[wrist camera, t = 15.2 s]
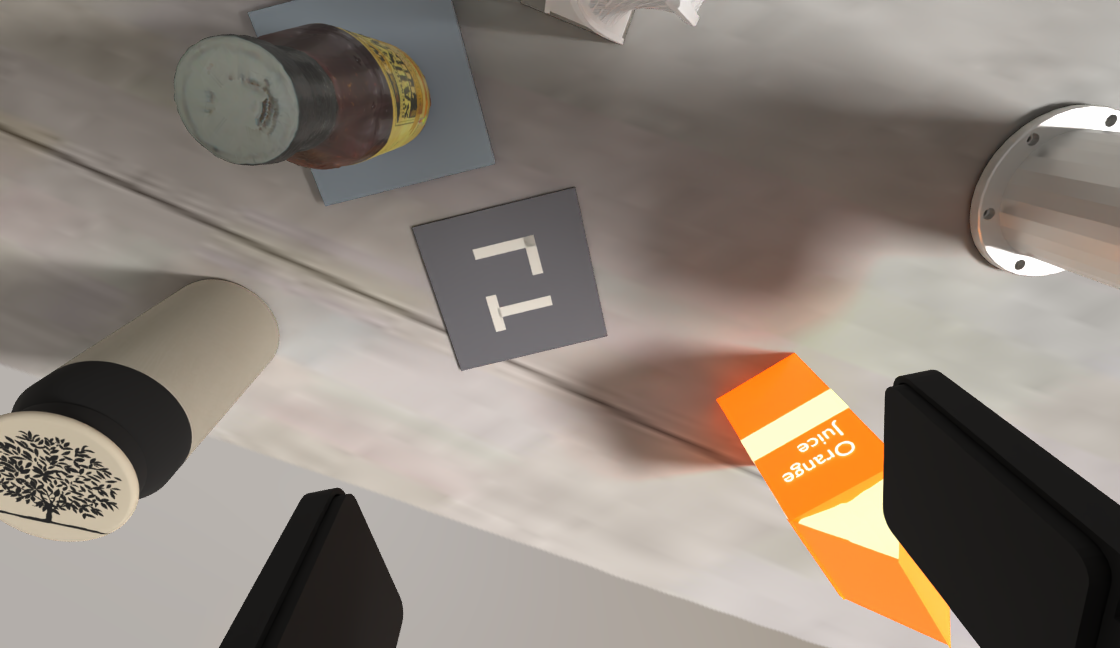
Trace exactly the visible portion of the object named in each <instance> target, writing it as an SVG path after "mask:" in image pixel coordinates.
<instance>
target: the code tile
mask: <svg viewBox="0 0 1120 648" xmlns="http://www.w3.org/2000/svg"><path fill="white" fill-rule="evenodd" d="M412 229H413V232H414V235H415V238H416V240H417V243H418V246H419V249H420V252H421V255H422V258H423V261H424V264H425V267H426V269H427V272H428V275H429V278H430V281H431V284H432V287H433V290H434V293H435V296H436V299H437V301H438V304H439V307H440V310H441V313H442V316H443V319H444V322H445V325H446V328H447V330H448V333H449V336H450V339H451V342H452V345H453V348H454V351H455V354H456V357H457V359H458V362H459V365H460V368H461V371H463V370H467V369H471V368H475V367H480V366H484V365H488V364H492V363H496V362H501V361H505V360H509V359H513V358H517V357H522V356H526V355H530V354H534V353H538V352H543V351H547V350H551V349H555V348H559V347H564V346H568V345H572V344H576V343H580V342H585V341H589V340H593V339H597V338H601V337H606V336H607V331H606V327H605V322H604V318H603V313H602V309H601V304H600V299H599V295H598V290H597V286H596V281H595V276H594V272H593V267H592V263H591V258H590V253H589V249H588V244H587V240H586V235H585V231H584V226H583V221H582V217H581V212H580V208H579V203H578V198H577V194H576V189H575V187H573V188H569V189H565V190H561V191H557V192H553V193H549V194H545V195H541V196H537V197H533V198H529V199H525V200H521V201H516V202H512V203H508V204H504V205H500V206H496V207H492V208H488V209H484V210H480V211H476V212H472V213H468V214H464V215H460V216H456V217H452V218H448V219H443V220H439V221H435V222H431V223H427V224H423V225H419V226H415V227H412Z"/></svg>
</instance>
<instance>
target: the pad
mask: <svg viewBox="0 0 1120 648" xmlns="http://www.w3.org/2000/svg"><path fill="white" fill-rule="evenodd" d="M248 15H249V17H250V20H251V22H252V25H253V27H254V30H255V32H256V35H257V37H259V36H262V35H266V34H270V33H274V32H278V31H282V30H286V29H290V28H294V27H298V26H302V25H306V24H312V23H323V24H328V25H332V26H335V27H339V28H342V29H345V30H348V31H351V32H354V33H357V34H362V35H364V36H367V37H370V38H373V39H376V40H379V41H382V42H385V43H388V44H391V45H393V46H396V47H397V48H399V49H401V50H402V51H404V52H405V53H406V54H407V55H408V56H409V57H410V58H411V59H412V60H413V61H414V62H415V63H416V64H417V65H418V66H419V68H420V70H421V72H422V74H423V75H424V76H425V80H426V83H427V86H428V88H429V93H430V98H431V106H430V109H429V114H428V118H427V121H426V124H425V126H424V128H423V129H422V130H421V132H420V134H418V135H417V136H416V137H415V138H414V139H413V140H412V141H410V142H409V143H407V144H406V145H404V146H402V147H399V148H396V149H394V150H391V151H389V152H386V153H384V154H381V155H378V156H376V157H373V158H371V159H369V160H366V161H364V162H361V163H358V164H354V165H349V166H342V167H340V168H334V169H327V170H320V169H312V168H310V169H311V172H312V174H313V177H314V179H315V182H316V184H317V187H318V189H319V192H320V194H321V197H322V199H323V201H324V204H325V206H328V205H332V204H336V203H340V202H344V201H348V200H353V199H357V198H361V197H365V196H369V195H373V194H377V193H381V192H385V191H389V190H393V189H397V188H401V187H405V186H409V185H413V184H417V183H421V182H425V181H429V180H433V179H437V178H441V177H445V176H449V175H453V174H457V173H461V172H465V171H469V170H473V169H477V168H481V167H485V166H489V165H493V164H495V158H494V154H493V150H492V147H491V143H490V139H489V136H488V132H487V128H486V124H485V121H484V117H483V113H482V110H481V106H480V102H479V99H478V95H477V91H476V87H475V84H474V80H473V76H472V73H471V69H470V65H469V61H468V58H467V54H466V50H465V47H464V43H463V39H462V36H461V32H460V28H459V24H458V21H457V17H456V13H455V10H454V6H453V2H452V0H294V1H290V2H286V3H283V4H279V5H275V6H271V7H267V8H263V9H260V10H256V11H252V12H248Z"/></svg>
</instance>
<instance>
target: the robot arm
mask: <svg viewBox="0 0 1120 648" xmlns="http://www.w3.org/2000/svg"><path fill="white" fill-rule="evenodd" d="M970 227H971V234H972V237H973V240H974V243H975V245H976V247H977V248H978V250H979V252H980V253H981V255H982V256H983V257H984V258H985V259H986V260H987V261H989V262H990V263H991V264H992V265H994V266H996V267H998V268H1000V269H1002V270H1004V271H1007V272H1010V273H1012V274H1015V275H1022V276H1029V277H1032V276H1045V275H1050V274H1054V273H1058V272H1061V271H1064V270H1067V271H1070V272H1073V273H1075V274H1078V275H1081V276H1084V277H1086V278H1089V279H1092V280H1095V281H1097V282H1100V283H1103V284H1106V285H1108V286H1111V287H1114V288H1117V289H1119V290H1120V110H1117V109H1114V108H1111V107H1108V106H1100V105H1071V106H1067V107H1063V108H1059V109H1055V110H1053V111H1050V112H1048V113H1046V114H1044V115H1041V116H1039V117H1037V118H1036V119H1034V120H1032V121H1031V122H1029V123H1028V124H1026V125H1024V126H1023V127H1022V128H1020V129H1019V130H1018V131H1017V132H1016V133H1014V134H1013V135H1012V136H1011V137H1010V138H1009V139H1007V141H1006V142H1005V143H1004V144H1003V145H1002V146H1001V147H1000V148H999V150H998V151H997V152H996V153H995V154H994V155H993V157H992V158H991V160H990V161H989V163H988V164H987V166H986V167H985V169H984V171H983V173H982V175H981V177H980V179H979V181H978V183H977V185H976V188H975V192H974V195H973V199H972V202H971V211H970ZM883 515H884V518H885V521H886V524H887V526H888V528H889V529H890V531H891V532H892V534H893V535H894V536H895V537H896V539H897V540H898V541H899V543H900V544H901V545H902V547H903V548H904V549H905V550H906V552H907V553H908V554H909V556H910V557H911V558H912V559H913V561H914V562H915V563H916V565H917V566H918V567H919V569H920V570H921V571H922V572H923V574H924V575H925V576H926V578H927V579H928V580H929V581H930V583H931V584H932V585H933V587H934V588H935V589H936V591H937V592H938V593H939V594H940V596H941V597H942V598H943V600H944V601H945V602H946V604H947V605H948V606H949V607H950V609H951V610H952V611H953V613H954V614H955V615H956V616H957V618H958V619H959V620H960V622H961V623H962V624H963V626H964V627H965V628H966V629H967V631H968V632H969V633H970V635H971V636H972V637H973V639H974V640H975V641H976V642H977V644H978V645H979V646H980V648H1120V505H1119V504H1117V503H1116V502H1115V501H1113V500H1112V499H1111V498H1109V497H1108V496H1107V495H1105V494H1104V493H1102V492H1101V491H1100V490H1098V489H1097V488H1096V487H1094V486H1093V485H1092V484H1090V483H1089V482H1088V481H1086V480H1085V479H1084V478H1082V477H1081V476H1080V475H1078V474H1077V473H1076V472H1074V471H1073V470H1071V469H1070V468H1069V467H1067V466H1066V465H1065V464H1063V463H1062V462H1061V461H1059V460H1058V459H1057V458H1055V457H1054V456H1053V455H1051V454H1050V453H1049V452H1047V451H1046V450H1045V449H1043V448H1042V447H1040V446H1039V445H1038V444H1036V443H1035V442H1034V441H1032V440H1031V439H1030V438H1028V437H1027V436H1026V435H1024V434H1023V433H1022V432H1020V431H1019V430H1018V429H1016V428H1015V427H1014V426H1012V425H1011V424H1009V423H1008V422H1007V421H1005V420H1004V419H1003V418H1001V417H1000V416H999V415H997V414H996V413H995V412H993V411H992V410H991V409H989V408H988V407H987V406H985V405H984V404H983V403H981V402H980V401H978V400H977V399H976V398H974V397H973V396H972V395H970V394H969V393H968V392H966V391H965V390H964V389H962V388H961V387H960V386H958V385H957V384H956V383H954V382H953V381H952V380H950V379H949V378H947V377H946V376H945V375H943V374H942V373H941V372H939V371H937V370H928V371H923V372H918V373H913V374H908V375H903V376H899V377H897V378H896V379H895V381H894V385H893V386H892V387H889V388H887V390H886V391H885V414H884V462H883ZM402 620H403V606H402V601H401V599H400V596H399V594H398V592H397V589H396V587H395V585H394V583H393V580H392V578H391V576H390V574H389V572H388V569H387V567H386V565H385V563H384V560H383V558H382V556H381V554H380V552H379V549H378V547H377V545H376V543H375V541H374V538H373V536H372V534H371V532H370V529H369V527H368V525H367V523H366V520H365V518H364V516H363V514H362V512H361V510H360V507H359V505H358V503H357V501H356V499H355V497H354V496H353V495H352V494H345V493H344V491H343V490H342V489H340V488H333V489H328V490H323V491H318V492H313V493H308V494H306V495H304V496H303V498H302V499H301V500H300V502H299V504H298V506H297V508H296V509H295V511H294V513H293V515H292V517H291V519H290V520H289V522H288V524H287V526H286V528H285V529H284V531H283V533H282V535H281V536H280V538H279V540H278V542H277V544H276V545H275V547H274V549H273V551H272V553H271V555H270V556H269V558H268V560H267V562H266V564H265V565H264V567H263V569H262V571H261V573H260V575H259V576H258V578H257V580H256V582H255V584H254V586H253V587H252V589H251V591H250V593H249V594H248V596H247V598H246V600H245V602H244V604H243V605H242V607H241V609H240V611H239V612H238V614H237V616H236V618H235V620H234V621H233V623H232V625H231V627H230V629H229V630H228V632H227V634H226V636H225V638H224V639H223V641H222V643H221V645H220V647H219V648H396V645H397V641H398V637H399V633H400V629H401V625H402Z"/></svg>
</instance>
